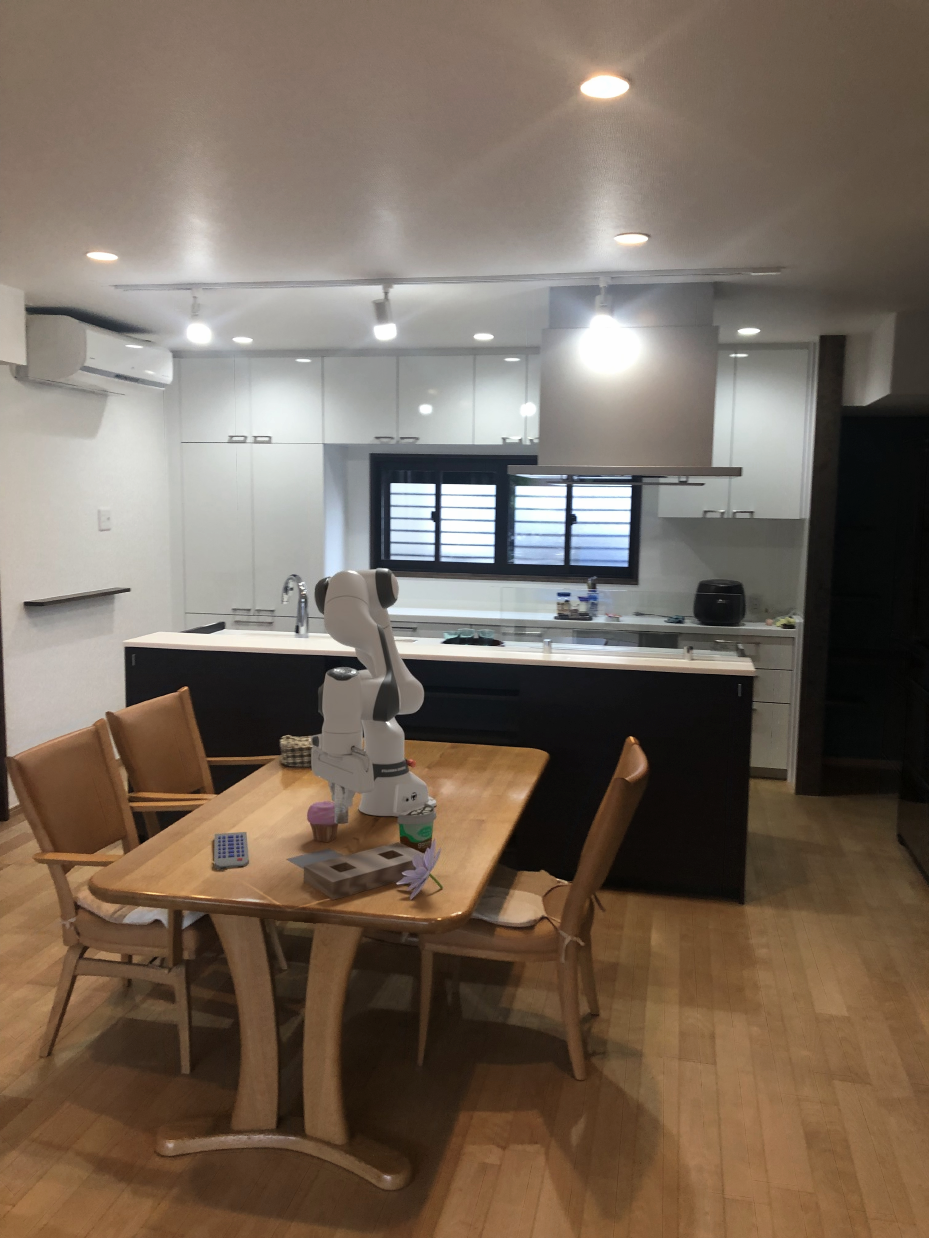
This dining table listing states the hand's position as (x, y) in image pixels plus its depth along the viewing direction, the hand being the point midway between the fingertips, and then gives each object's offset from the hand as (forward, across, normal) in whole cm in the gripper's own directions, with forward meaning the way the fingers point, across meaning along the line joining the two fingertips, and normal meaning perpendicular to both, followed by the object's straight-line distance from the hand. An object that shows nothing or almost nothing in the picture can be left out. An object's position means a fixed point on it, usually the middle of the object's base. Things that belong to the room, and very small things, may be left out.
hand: (342, 803), depth 211 cm
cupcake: (+19, +28, -13) cm, 36 cm away
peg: (+4, 0, 0) cm, 4 cm away
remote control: (+19, +34, +10) cm, 41 cm away
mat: (+18, +15, -4) cm, 24 cm away
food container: (+19, +7, -28) cm, 34 cm away
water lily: (+19, -12, -12) cm, 26 cm away
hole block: (+18, 0, -7) cm, 20 cm away
